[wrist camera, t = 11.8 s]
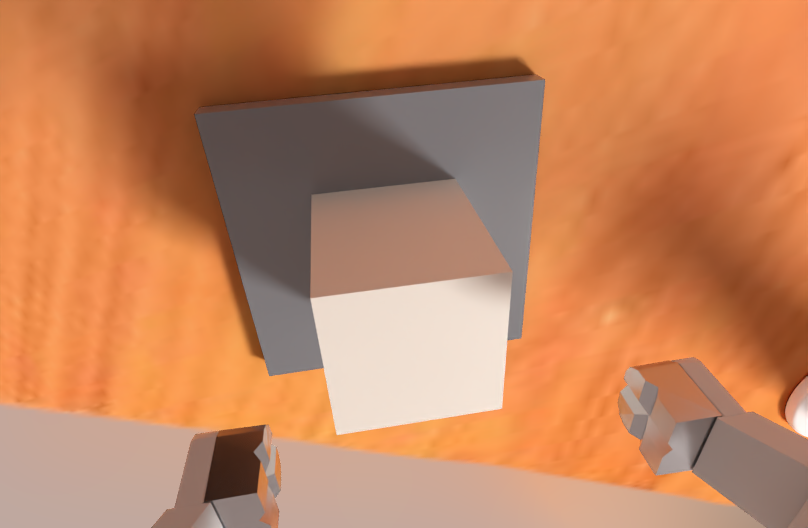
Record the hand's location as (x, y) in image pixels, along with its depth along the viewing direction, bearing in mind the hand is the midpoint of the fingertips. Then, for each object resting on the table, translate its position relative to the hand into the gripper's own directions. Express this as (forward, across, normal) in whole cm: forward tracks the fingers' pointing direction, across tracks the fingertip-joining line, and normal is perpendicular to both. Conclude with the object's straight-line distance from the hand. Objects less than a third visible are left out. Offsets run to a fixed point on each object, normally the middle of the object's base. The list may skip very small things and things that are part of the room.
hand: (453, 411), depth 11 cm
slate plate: (+9, 0, +1) cm, 9 cm away
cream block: (+8, 0, +1) cm, 8 cm away
